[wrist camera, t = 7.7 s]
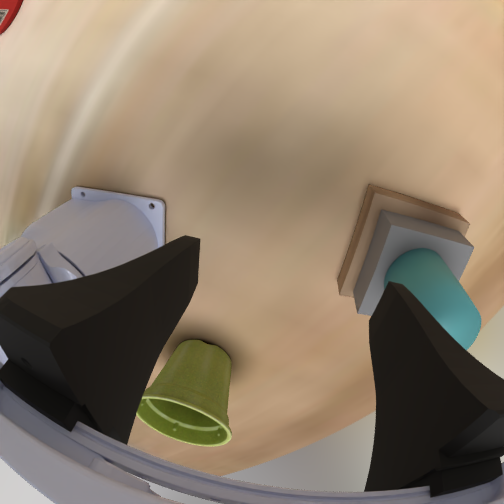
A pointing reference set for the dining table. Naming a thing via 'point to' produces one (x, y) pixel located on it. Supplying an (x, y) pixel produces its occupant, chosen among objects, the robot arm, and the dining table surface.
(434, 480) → the robot arm
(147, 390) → the plant pot
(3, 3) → the canned food
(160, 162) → the dining table surface
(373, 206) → the walnut slab
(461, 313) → the teal cylinder
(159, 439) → the dining table surface
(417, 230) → the grey square block
